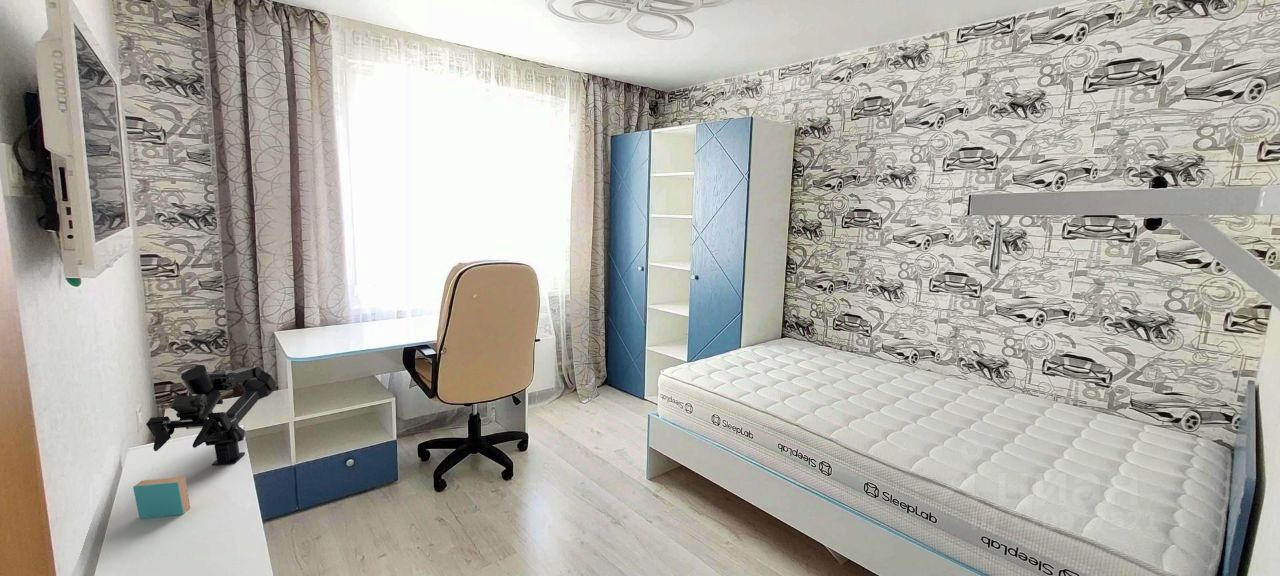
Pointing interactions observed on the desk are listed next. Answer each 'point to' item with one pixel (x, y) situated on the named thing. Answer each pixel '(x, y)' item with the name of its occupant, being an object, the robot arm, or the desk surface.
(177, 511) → the tile
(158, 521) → the desk surface
